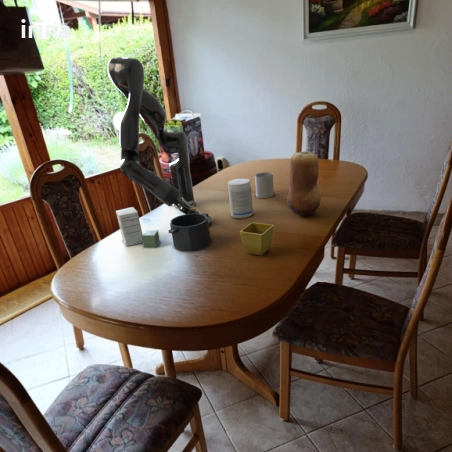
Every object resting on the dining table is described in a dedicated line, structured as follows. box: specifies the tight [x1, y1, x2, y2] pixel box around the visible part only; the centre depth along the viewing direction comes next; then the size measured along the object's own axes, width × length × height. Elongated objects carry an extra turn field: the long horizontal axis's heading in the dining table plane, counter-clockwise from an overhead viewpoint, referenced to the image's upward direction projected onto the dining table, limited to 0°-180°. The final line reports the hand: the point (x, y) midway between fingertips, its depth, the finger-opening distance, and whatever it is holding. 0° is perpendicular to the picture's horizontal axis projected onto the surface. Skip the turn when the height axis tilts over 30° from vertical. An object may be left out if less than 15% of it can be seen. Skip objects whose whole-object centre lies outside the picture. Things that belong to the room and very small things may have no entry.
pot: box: [167, 212, 212, 253], centre depth 150 cm, size 14×19×10 cm
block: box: [142, 229, 161, 249], centre depth 154 cm, size 5×5×5 cm
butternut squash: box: [286, 150, 322, 218], centre depth 161 cm, size 14×13×25 cm
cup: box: [254, 171, 275, 199], centre depth 192 cm, size 8×8×10 cm
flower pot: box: [239, 221, 275, 256], centre depth 138 cm, size 9×9×9 cm
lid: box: [191, 206, 213, 225], centre depth 168 cm, size 15×15×7 cm
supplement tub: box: [227, 178, 254, 219], centre depth 170 cm, size 10×10×15 cm
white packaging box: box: [115, 206, 143, 247], centre depth 157 cm, size 7×7×13 cm
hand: (199, 216), depth 168 cm, fingers closed on lid, 2 cm apart
